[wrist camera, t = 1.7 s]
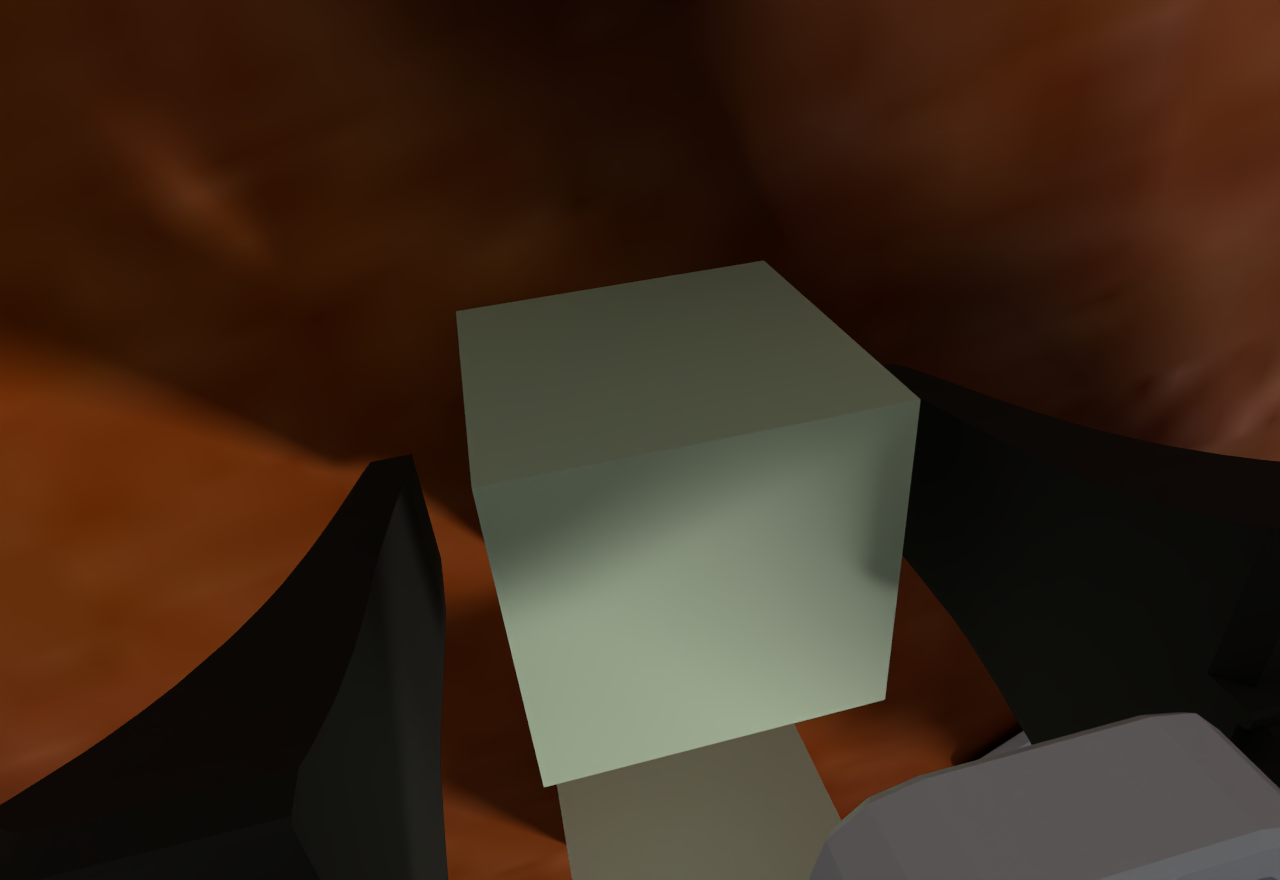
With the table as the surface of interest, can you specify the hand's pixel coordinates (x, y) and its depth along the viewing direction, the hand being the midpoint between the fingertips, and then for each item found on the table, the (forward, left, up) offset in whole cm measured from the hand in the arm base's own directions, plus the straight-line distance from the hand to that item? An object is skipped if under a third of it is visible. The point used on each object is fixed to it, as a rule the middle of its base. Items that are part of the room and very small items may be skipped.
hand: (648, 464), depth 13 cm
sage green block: (0, 0, -2) cm, 2 cm away
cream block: (-8, +5, -2) cm, 10 cm away
